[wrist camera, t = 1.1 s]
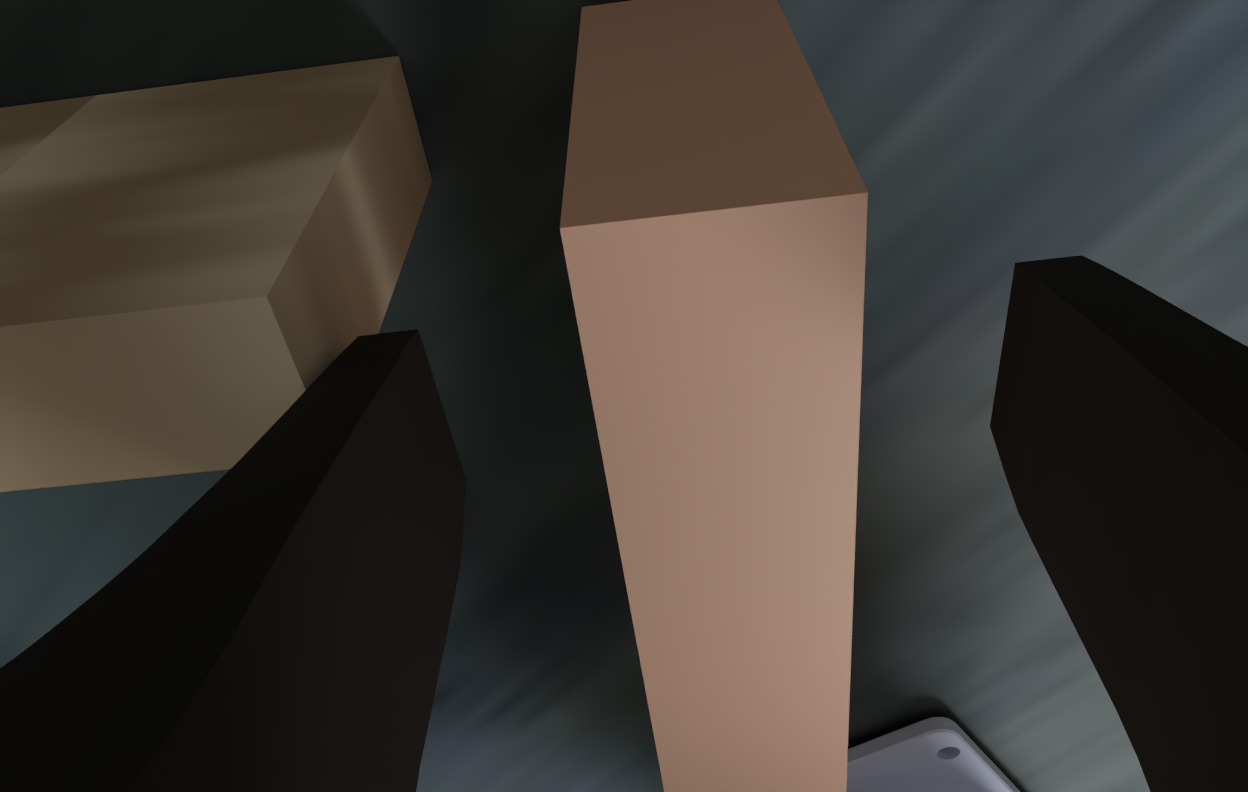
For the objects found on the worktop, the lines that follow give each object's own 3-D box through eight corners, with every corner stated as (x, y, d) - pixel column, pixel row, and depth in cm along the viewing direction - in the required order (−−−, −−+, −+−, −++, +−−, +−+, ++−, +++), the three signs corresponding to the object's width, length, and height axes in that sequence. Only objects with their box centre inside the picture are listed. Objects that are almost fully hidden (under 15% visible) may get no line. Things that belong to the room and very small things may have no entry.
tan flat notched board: (582, 6, 12) (560, 228, 7) (769, -19, 12) (867, 192, 7) (669, 609, 20) (686, 913, 15) (787, 599, 19) (842, 904, 15)
